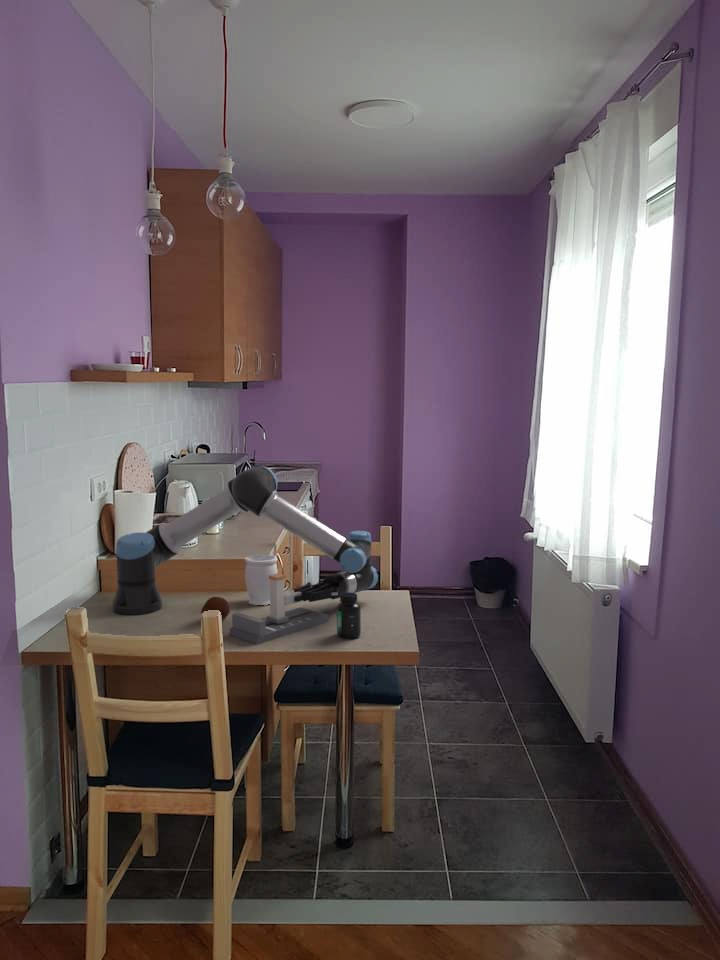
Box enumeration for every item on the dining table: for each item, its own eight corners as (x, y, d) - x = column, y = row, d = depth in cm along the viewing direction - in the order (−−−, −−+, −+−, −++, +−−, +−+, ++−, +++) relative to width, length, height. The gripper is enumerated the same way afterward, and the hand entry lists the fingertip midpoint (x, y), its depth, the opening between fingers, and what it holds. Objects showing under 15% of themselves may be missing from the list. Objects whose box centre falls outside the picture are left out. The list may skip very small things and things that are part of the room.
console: (300, 613, 244) (300, 594, 243) (328, 621, 236) (328, 601, 235) (229, 634, 223) (229, 614, 223) (257, 644, 215) (257, 623, 215)
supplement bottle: (337, 639, 219) (337, 598, 218) (336, 632, 226) (335, 591, 224) (361, 639, 220) (361, 597, 218) (359, 631, 226) (359, 591, 225)
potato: (235, 617, 240) (235, 592, 239) (220, 628, 229) (219, 602, 228) (212, 615, 242) (212, 590, 241) (196, 626, 231) (195, 600, 230)
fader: (276, 617, 232) (276, 572, 230) (288, 620, 229) (287, 575, 227) (266, 620, 229) (266, 575, 227) (278, 623, 226) (277, 578, 224)
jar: (281, 598, 261) (280, 554, 259) (273, 607, 250) (273, 561, 248) (250, 597, 262) (249, 553, 260) (241, 606, 252) (240, 560, 250)
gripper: (354, 600, 242) (299, 617, 225) (324, 593, 251) (269, 608, 233) (354, 577, 241) (299, 592, 224) (324, 570, 250) (268, 584, 232)
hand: (284, 600), depth 229 cm, fingers closed
